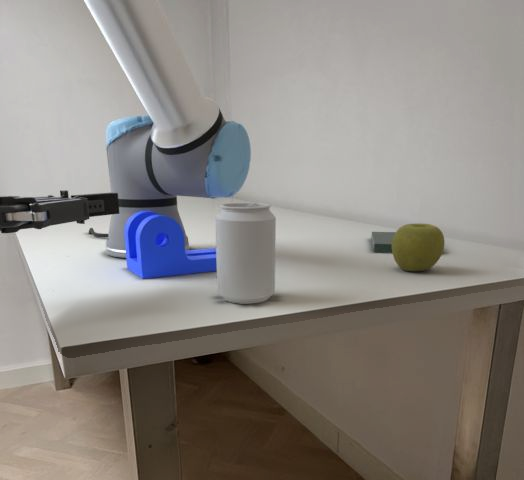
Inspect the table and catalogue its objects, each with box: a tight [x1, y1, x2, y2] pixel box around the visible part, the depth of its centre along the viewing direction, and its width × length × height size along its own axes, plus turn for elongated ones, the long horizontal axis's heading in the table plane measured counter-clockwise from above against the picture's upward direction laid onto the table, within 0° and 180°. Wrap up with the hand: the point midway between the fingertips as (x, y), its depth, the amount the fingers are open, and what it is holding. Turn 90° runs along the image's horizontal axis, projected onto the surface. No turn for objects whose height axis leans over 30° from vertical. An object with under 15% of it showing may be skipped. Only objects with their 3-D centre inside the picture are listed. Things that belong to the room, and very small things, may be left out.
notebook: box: [370, 231, 396, 254], centre depth 110 cm, size 12×16×2 cm
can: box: [214, 202, 277, 305], centre depth 70 cm, size 8×8×12 cm
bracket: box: [124, 211, 217, 280], centre depth 89 cm, size 18×8×9 cm, turn 119°
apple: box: [392, 223, 445, 272], centre depth 87 cm, size 8×8×7 cm
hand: (114, 203), depth 75 cm, fingers closed
